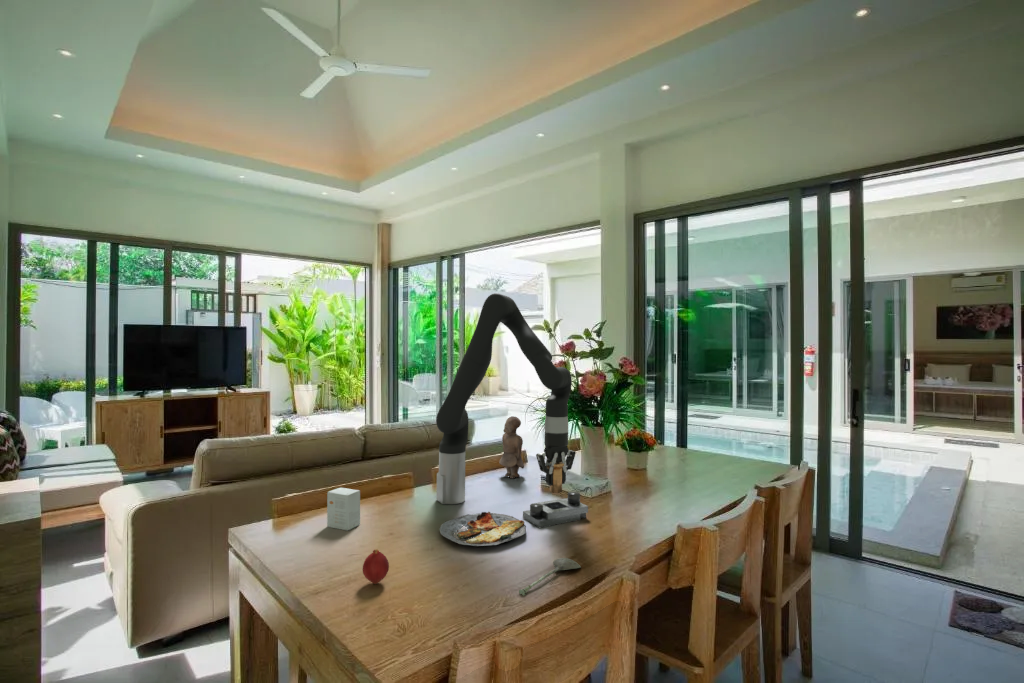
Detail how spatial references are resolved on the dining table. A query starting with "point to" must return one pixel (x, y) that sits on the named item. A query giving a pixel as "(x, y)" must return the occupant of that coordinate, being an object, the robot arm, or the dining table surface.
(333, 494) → the small box
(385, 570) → the onion
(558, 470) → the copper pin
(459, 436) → the robot arm
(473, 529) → the food plate
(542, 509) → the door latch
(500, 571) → the dining table surface
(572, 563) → the soupspoon
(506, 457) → the clay figurine
